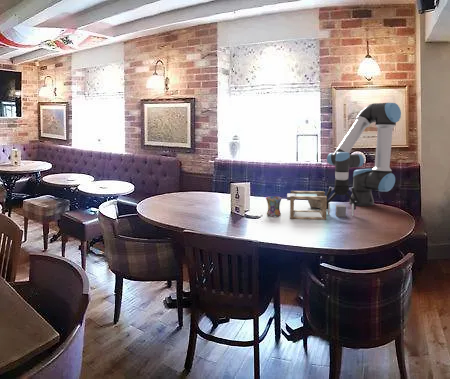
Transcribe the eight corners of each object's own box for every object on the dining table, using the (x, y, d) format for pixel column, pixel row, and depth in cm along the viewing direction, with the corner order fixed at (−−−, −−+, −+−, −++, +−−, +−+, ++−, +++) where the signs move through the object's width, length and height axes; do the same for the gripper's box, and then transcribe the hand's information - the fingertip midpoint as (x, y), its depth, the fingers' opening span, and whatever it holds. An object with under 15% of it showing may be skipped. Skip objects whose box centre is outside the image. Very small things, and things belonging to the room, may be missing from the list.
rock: (325, 195, 262) (330, 193, 255) (323, 211, 261) (328, 209, 253) (305, 191, 262) (309, 189, 254) (303, 207, 260) (307, 205, 252)
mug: (283, 217, 234) (283, 199, 232) (267, 217, 234) (267, 199, 232) (279, 212, 246) (279, 195, 244) (264, 212, 246) (264, 195, 244)
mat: (319, 213, 241) (319, 212, 241) (321, 218, 229) (321, 217, 229) (294, 212, 244) (294, 211, 244) (294, 217, 231) (294, 216, 231)
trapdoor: (316, 196, 240) (316, 193, 240) (317, 201, 227) (317, 197, 227) (287, 196, 243) (287, 192, 243) (287, 200, 230) (287, 197, 230)
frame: (323, 212, 243) (324, 191, 241) (326, 219, 226) (326, 197, 224) (290, 211, 247) (290, 190, 245) (290, 218, 229) (290, 196, 227)
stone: (344, 214, 237) (344, 204, 236) (345, 216, 232) (346, 206, 231) (335, 214, 238) (335, 204, 237) (336, 216, 233) (336, 206, 232)
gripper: (363, 178, 233) (361, 213, 237) (319, 177, 237) (318, 212, 241) (365, 180, 226) (363, 216, 229) (319, 179, 230) (319, 215, 234)
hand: (340, 214), depth 235 cm, fingers open, 13 cm apart
